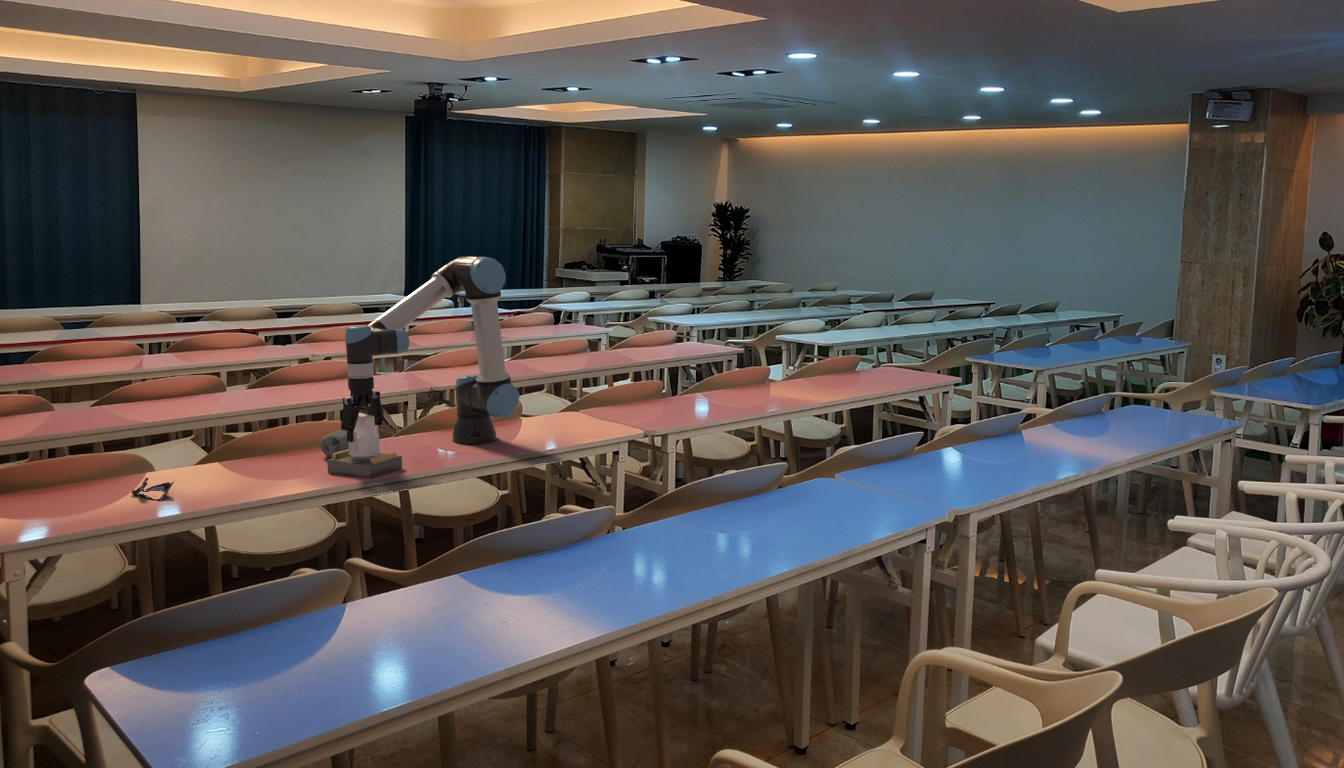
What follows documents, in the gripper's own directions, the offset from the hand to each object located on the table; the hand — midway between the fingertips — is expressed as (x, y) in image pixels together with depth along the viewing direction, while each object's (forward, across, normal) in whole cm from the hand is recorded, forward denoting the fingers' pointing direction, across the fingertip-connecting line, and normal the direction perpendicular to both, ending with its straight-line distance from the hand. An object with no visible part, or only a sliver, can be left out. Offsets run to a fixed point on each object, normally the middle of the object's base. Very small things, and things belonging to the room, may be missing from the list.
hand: (364, 448), depth 306 cm
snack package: (+7, +48, -34) cm, 59 cm away
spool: (+7, -12, -22) cm, 26 cm away
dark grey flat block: (+7, 0, 0) cm, 7 cm away
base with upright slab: (+2, 0, 0) cm, 2 cm away
